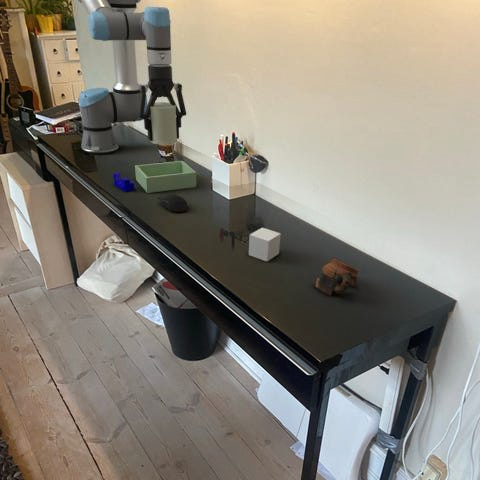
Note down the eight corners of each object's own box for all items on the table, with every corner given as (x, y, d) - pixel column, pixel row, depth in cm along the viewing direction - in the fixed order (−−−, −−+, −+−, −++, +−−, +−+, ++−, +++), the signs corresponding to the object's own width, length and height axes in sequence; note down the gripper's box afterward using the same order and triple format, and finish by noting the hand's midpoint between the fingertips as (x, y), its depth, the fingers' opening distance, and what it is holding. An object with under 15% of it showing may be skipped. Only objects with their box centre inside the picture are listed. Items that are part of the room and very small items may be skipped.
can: (179, 138, 171) (178, 101, 164) (174, 145, 163) (172, 107, 156) (153, 136, 171) (151, 100, 164) (147, 143, 164) (144, 105, 157)
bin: (136, 180, 177) (134, 165, 174) (183, 174, 184) (182, 160, 181) (147, 193, 167) (146, 177, 164) (196, 186, 174) (196, 172, 171)
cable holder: (134, 189, 169) (133, 178, 167) (125, 191, 167) (124, 180, 165) (123, 183, 174) (122, 172, 172) (114, 185, 172) (113, 174, 170)
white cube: (260, 247, 136) (262, 227, 132) (279, 253, 133) (280, 233, 130) (248, 255, 132) (249, 234, 128) (266, 261, 129) (268, 240, 126)
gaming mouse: (168, 196, 165) (168, 184, 163) (191, 210, 156) (191, 198, 153) (152, 200, 162) (151, 188, 160) (174, 214, 152) (174, 202, 150)
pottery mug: (307, 282, 122) (322, 252, 120) (337, 295, 125) (353, 266, 123) (325, 295, 111) (342, 263, 109) (358, 310, 114) (375, 278, 112)
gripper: (129, 67, 147) (135, 144, 160) (195, 65, 155) (197, 138, 168) (123, 64, 153) (129, 138, 165) (187, 62, 161) (189, 133, 173)
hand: (163, 138), depth 167 cm, fingers closed on can, 9 cm apart
